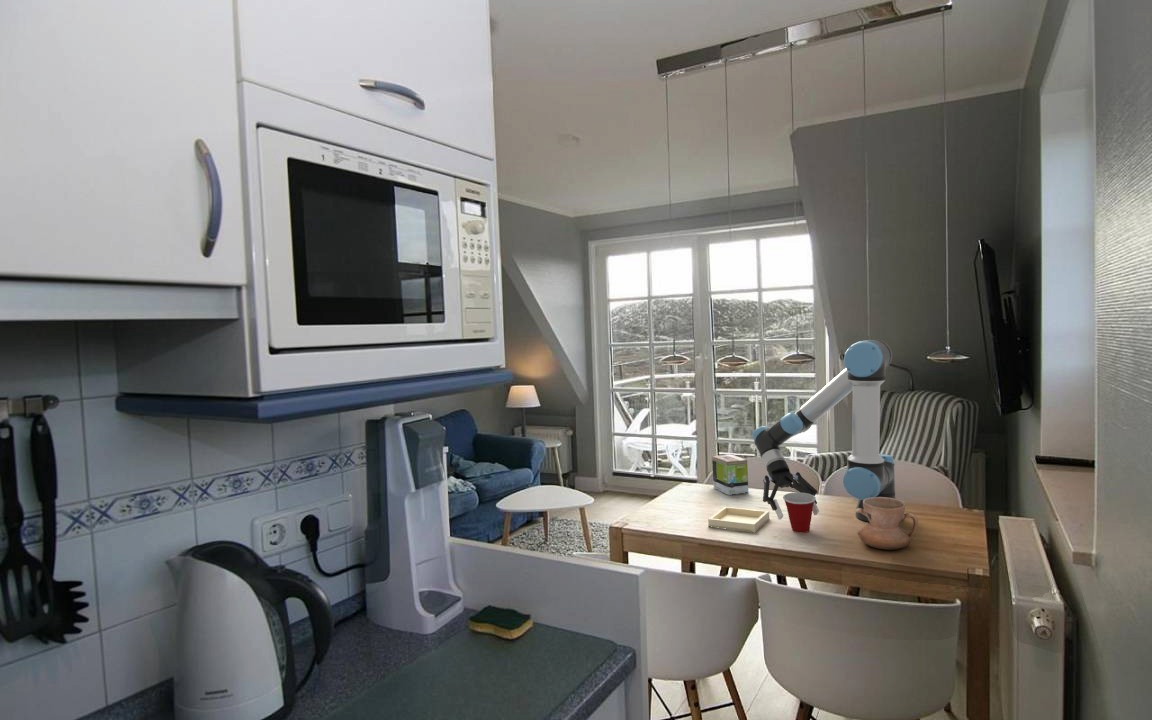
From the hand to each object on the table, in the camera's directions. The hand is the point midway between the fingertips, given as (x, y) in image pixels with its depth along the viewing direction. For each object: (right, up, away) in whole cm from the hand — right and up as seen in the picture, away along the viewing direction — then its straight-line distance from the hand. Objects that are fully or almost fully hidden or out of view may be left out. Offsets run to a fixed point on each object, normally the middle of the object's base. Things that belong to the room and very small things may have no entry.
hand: (799, 515), depth 223 cm
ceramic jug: (+21, -5, -20) cm, 29 cm away
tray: (-18, -6, +12) cm, 22 cm away
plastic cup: (+1, -5, 0) cm, 5 cm away
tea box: (-10, -3, +59) cm, 60 cm away
